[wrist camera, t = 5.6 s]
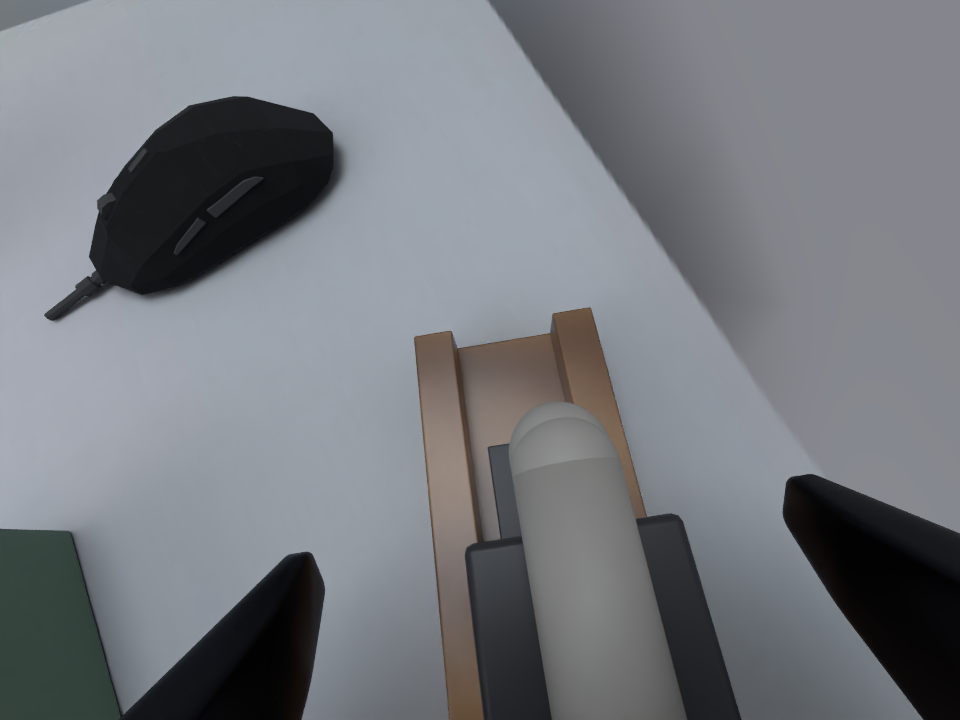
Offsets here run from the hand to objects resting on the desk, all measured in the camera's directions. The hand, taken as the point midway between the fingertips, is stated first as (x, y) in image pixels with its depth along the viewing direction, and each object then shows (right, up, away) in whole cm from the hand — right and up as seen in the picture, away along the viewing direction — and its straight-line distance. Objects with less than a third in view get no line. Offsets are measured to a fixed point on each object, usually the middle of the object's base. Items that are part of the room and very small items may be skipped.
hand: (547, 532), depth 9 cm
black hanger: (+1, -3, +5) cm, 6 cm away
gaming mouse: (-14, +10, +13) cm, 21 cm away
